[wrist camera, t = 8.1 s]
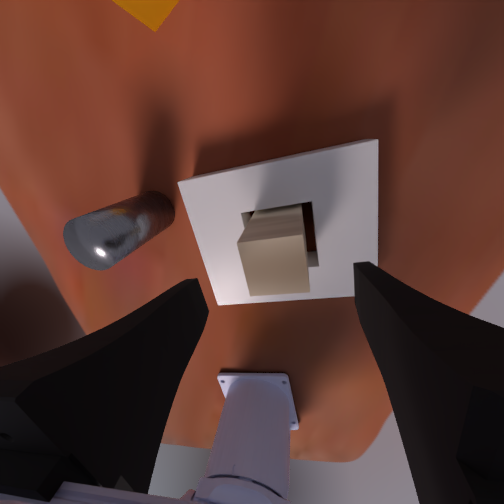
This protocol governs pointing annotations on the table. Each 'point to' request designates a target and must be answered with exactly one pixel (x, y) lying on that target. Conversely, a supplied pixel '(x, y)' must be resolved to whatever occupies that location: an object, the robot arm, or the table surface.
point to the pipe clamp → (148, 10)
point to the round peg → (117, 229)
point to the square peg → (275, 252)
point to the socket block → (287, 193)
